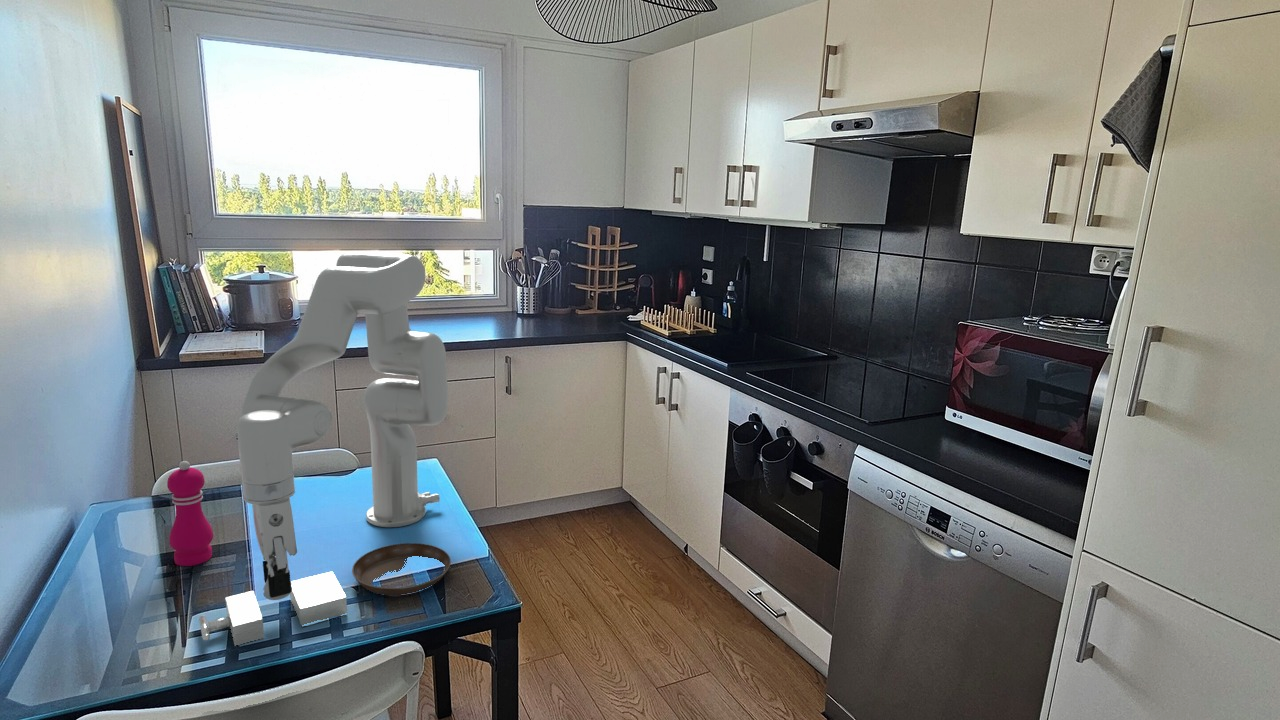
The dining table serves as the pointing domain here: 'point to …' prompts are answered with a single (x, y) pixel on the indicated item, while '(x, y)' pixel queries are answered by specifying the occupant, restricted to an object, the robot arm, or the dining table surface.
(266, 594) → the rook chess piece
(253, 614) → the bench vise
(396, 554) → the plant saucer
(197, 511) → the pepper mill
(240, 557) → the dining table surface
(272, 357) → the robot arm
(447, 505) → the dining table surface
